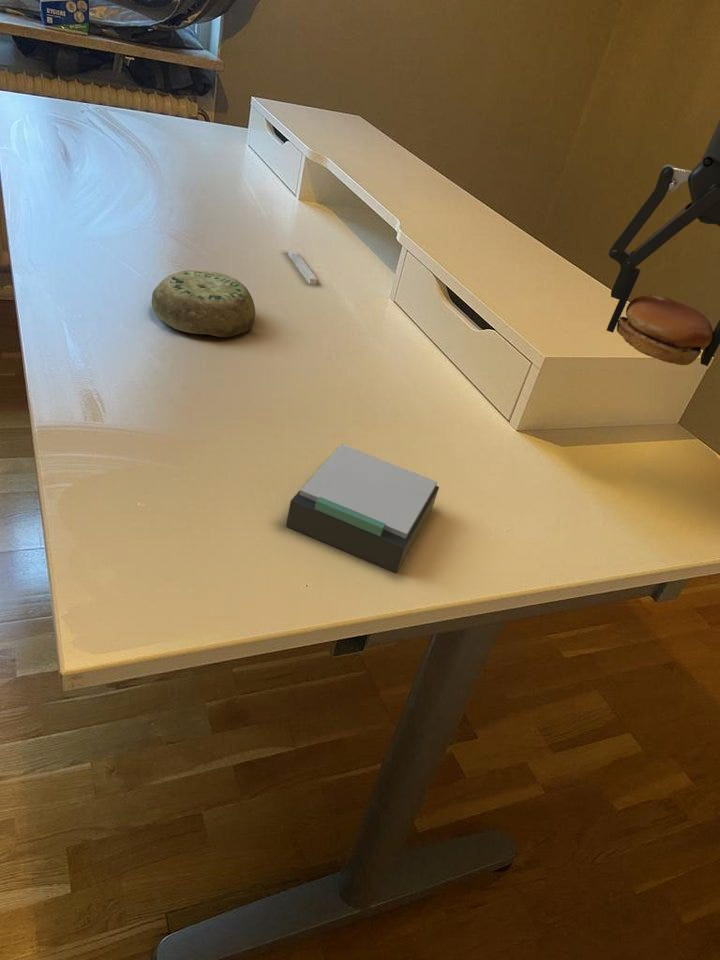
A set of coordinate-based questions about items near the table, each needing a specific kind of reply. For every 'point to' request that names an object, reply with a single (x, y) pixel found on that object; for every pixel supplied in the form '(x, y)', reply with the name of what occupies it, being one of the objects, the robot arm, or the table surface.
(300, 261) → the light grey bar
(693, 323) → the burger
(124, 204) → the table surface
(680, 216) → the robot arm
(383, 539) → the scale
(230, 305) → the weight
